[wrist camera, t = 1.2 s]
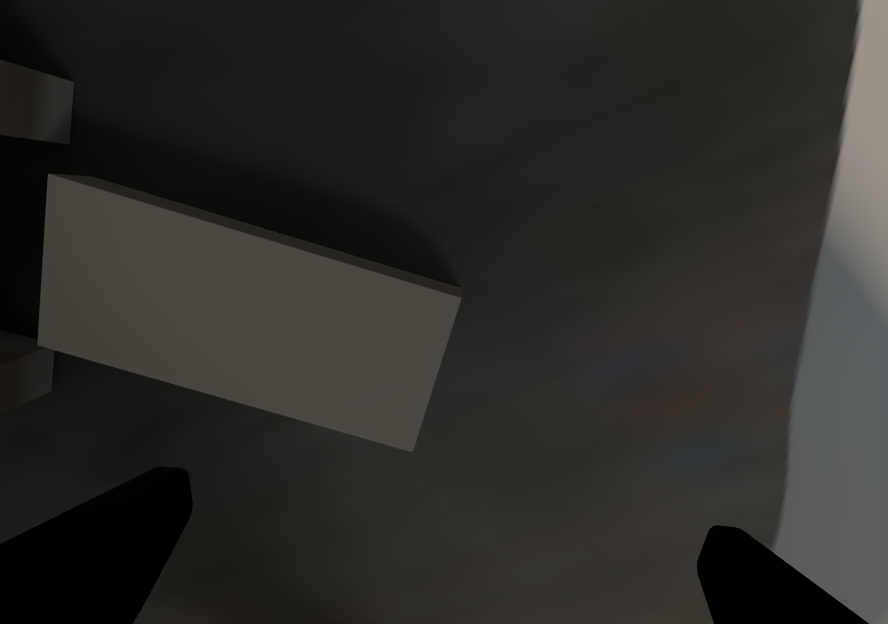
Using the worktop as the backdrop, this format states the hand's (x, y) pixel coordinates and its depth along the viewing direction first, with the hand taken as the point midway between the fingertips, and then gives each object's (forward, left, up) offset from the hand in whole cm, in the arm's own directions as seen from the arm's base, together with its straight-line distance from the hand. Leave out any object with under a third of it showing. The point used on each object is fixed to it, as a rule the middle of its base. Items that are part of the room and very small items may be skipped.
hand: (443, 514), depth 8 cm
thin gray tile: (+8, +2, -12) cm, 15 cm away
